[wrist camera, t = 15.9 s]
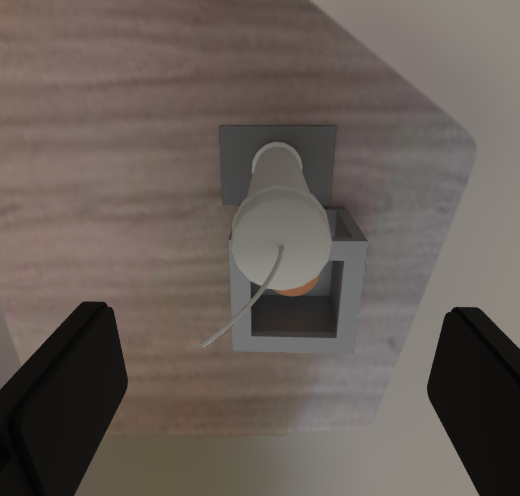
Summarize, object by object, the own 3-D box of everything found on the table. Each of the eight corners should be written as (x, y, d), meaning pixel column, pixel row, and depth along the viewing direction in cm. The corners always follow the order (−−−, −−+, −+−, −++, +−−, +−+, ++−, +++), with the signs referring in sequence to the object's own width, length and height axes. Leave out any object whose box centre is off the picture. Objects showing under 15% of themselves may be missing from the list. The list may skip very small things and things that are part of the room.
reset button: (265, 237, 42) (265, 247, 39) (318, 238, 42) (321, 248, 39) (265, 283, 44) (265, 295, 42) (315, 284, 44) (318, 296, 41)
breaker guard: (239, 207, 42) (228, 239, 32) (345, 208, 42) (368, 241, 32) (242, 298, 48) (233, 351, 37) (336, 299, 47) (353, 353, 37)
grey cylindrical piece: (308, 175, 40) (386, 342, 12) (260, 198, 41) (236, 397, 14) (287, 130, 38) (325, 212, 11) (238, 157, 39) (159, 290, 12)
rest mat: (219, 126, 39) (218, 126, 38) (335, 125, 38) (336, 126, 38) (223, 203, 42) (222, 204, 42) (329, 204, 42) (330, 205, 41)
